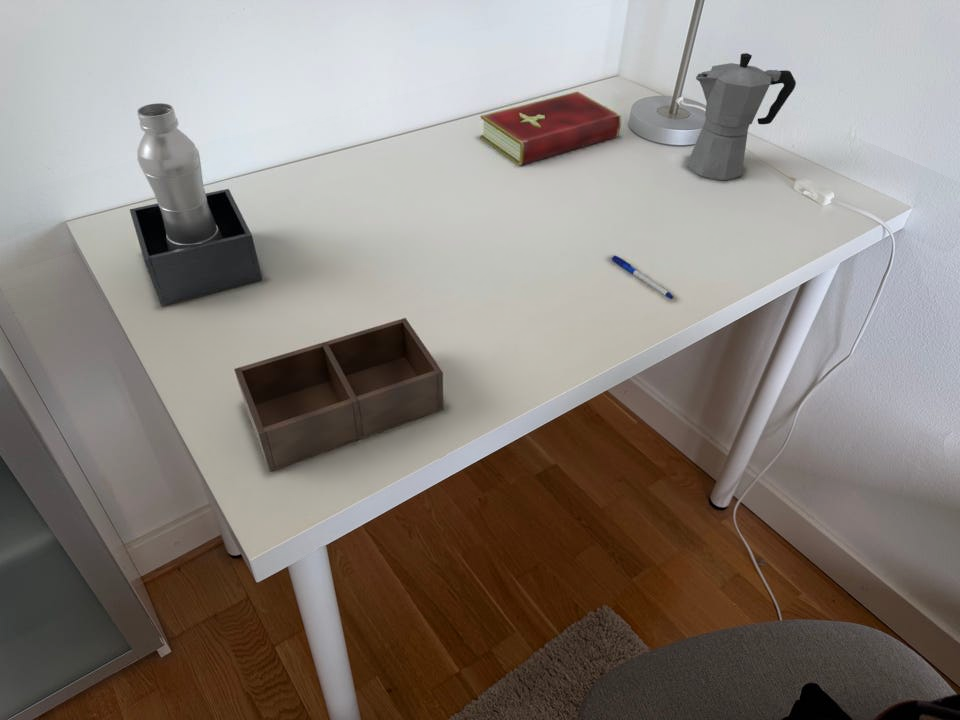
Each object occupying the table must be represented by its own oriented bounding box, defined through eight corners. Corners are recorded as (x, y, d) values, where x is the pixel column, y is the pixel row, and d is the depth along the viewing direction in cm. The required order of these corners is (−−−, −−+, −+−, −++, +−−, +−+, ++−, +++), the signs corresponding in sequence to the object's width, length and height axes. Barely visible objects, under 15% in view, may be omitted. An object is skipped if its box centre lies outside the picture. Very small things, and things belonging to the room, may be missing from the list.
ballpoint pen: (609, 261, 92) (610, 255, 92) (613, 259, 93) (615, 252, 92) (670, 300, 86) (671, 294, 86) (674, 297, 87) (676, 291, 86)
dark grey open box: (161, 306, 82) (143, 259, 78) (145, 254, 90) (129, 209, 86) (262, 280, 87) (251, 234, 82) (239, 233, 95) (228, 188, 90)
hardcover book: (618, 137, 120) (622, 114, 117) (520, 166, 111) (522, 142, 108) (575, 112, 127) (578, 89, 124) (480, 137, 118) (480, 114, 115)
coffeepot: (682, 181, 109) (712, 65, 96) (667, 154, 115) (693, 42, 103) (777, 181, 109) (818, 66, 97) (757, 154, 116) (793, 43, 104)
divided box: (269, 471, 65) (258, 434, 61) (245, 406, 71) (233, 368, 67) (443, 409, 71) (443, 372, 68) (407, 354, 77) (405, 317, 74)
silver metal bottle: (220, 278, 85) (176, 123, 72) (166, 276, 85) (111, 121, 72) (235, 249, 90) (196, 98, 77) (183, 247, 90) (135, 96, 77)
